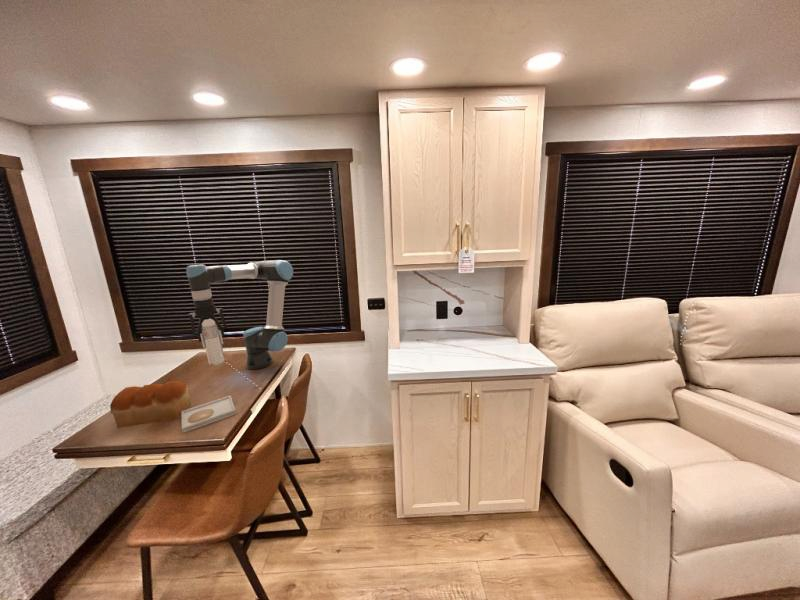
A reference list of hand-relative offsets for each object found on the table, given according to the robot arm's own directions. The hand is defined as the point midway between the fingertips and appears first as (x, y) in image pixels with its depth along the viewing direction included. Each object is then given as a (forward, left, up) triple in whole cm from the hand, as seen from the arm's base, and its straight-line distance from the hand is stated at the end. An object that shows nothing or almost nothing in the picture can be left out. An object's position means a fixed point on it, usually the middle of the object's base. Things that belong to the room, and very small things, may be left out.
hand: (213, 345), depth 145 cm
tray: (+8, +12, -28) cm, 31 cm away
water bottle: (0, 0, -9) cm, 9 cm away
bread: (+28, -5, -29) cm, 40 cm away
